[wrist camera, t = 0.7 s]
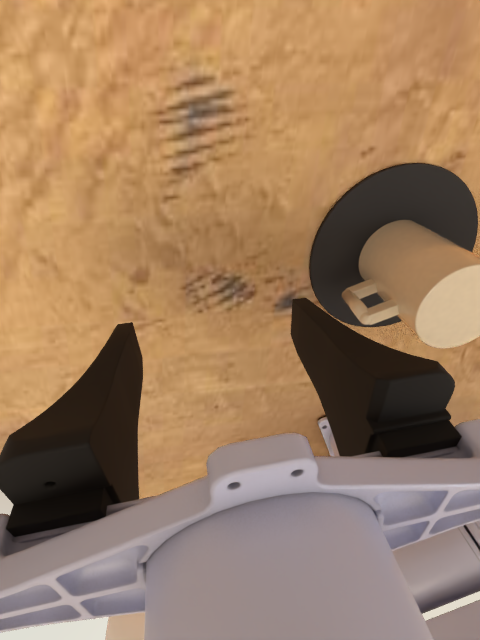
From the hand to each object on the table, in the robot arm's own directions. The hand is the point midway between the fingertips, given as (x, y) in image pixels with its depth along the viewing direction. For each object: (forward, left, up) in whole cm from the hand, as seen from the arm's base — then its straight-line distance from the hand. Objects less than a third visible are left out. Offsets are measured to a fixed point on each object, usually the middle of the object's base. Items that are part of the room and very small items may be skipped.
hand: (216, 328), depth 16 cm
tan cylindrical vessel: (-7, -12, -10) cm, 17 cm away
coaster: (-7, -13, -11) cm, 18 cm away
